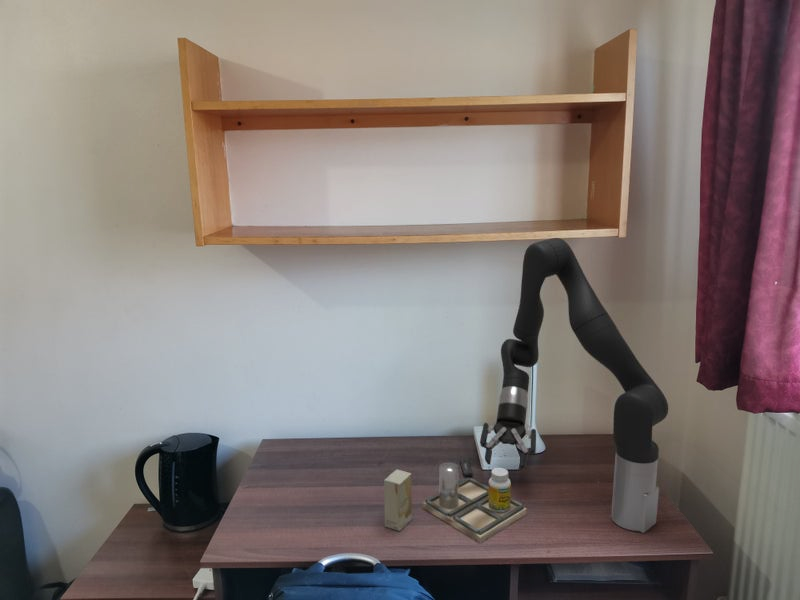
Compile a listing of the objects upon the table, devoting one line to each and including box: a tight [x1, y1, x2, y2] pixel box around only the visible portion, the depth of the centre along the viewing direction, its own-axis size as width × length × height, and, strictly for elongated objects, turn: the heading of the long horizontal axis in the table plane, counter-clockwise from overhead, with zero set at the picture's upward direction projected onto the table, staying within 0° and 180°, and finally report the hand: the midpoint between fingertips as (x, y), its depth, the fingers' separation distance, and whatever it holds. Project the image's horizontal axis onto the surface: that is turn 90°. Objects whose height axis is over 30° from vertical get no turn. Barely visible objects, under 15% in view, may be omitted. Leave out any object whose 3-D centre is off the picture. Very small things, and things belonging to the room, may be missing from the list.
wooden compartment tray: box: [422, 478, 527, 544], centre depth 146 cm, size 19×17×2 cm
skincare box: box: [383, 468, 413, 532], centre depth 141 cm, size 6×4×12 cm
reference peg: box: [438, 462, 460, 509], centre depth 146 cm, size 5×5×10 cm
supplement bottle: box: [488, 467, 512, 512], centre depth 144 cm, size 5×5×10 cm
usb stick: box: [459, 457, 474, 479], centre depth 166 cm, size 10×3×2 cm, turn 1°
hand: (505, 466), depth 150 cm, fingers open, 8 cm apart
